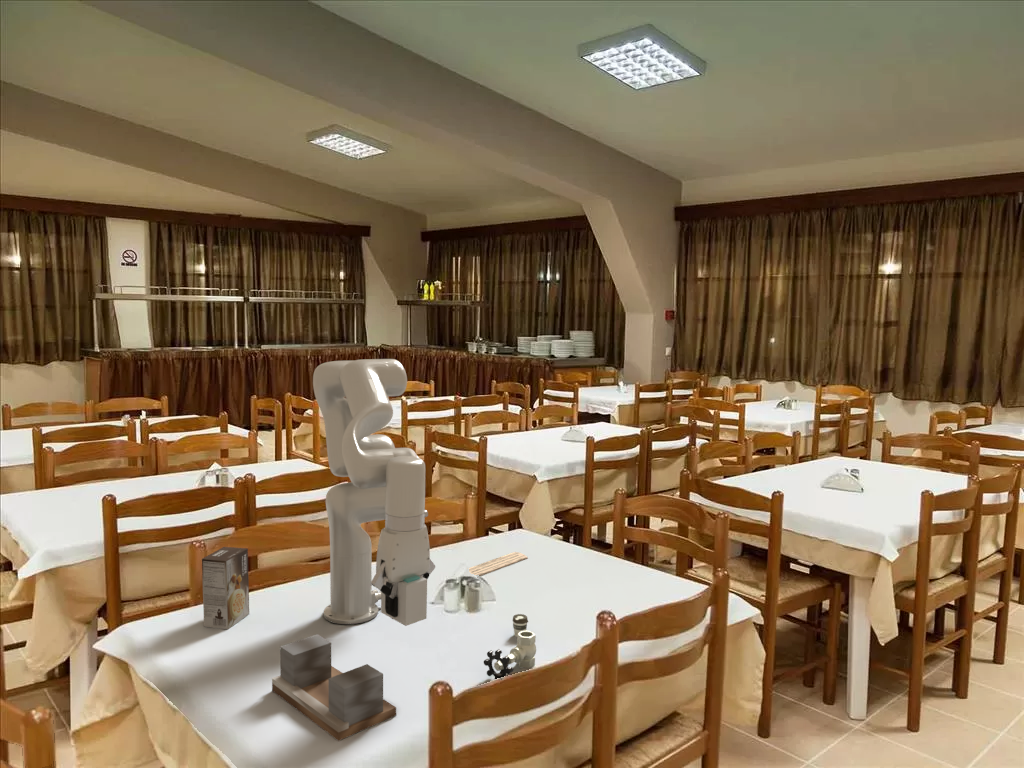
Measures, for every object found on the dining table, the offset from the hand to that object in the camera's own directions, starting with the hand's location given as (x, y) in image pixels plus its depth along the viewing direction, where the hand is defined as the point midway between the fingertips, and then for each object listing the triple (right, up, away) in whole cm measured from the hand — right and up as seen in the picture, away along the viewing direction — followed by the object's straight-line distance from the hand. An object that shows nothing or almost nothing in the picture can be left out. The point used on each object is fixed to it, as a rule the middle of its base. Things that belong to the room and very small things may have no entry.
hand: (403, 609), depth 152 cm
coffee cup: (+23, -13, +22) cm, 35 cm away
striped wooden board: (+15, -8, +67) cm, 70 cm away
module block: (0, -1, 0) cm, 1 cm away
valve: (+22, -14, +5) cm, 27 cm away
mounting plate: (-12, -15, -8) cm, 21 cm away
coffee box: (-44, -11, +27) cm, 53 cm away
